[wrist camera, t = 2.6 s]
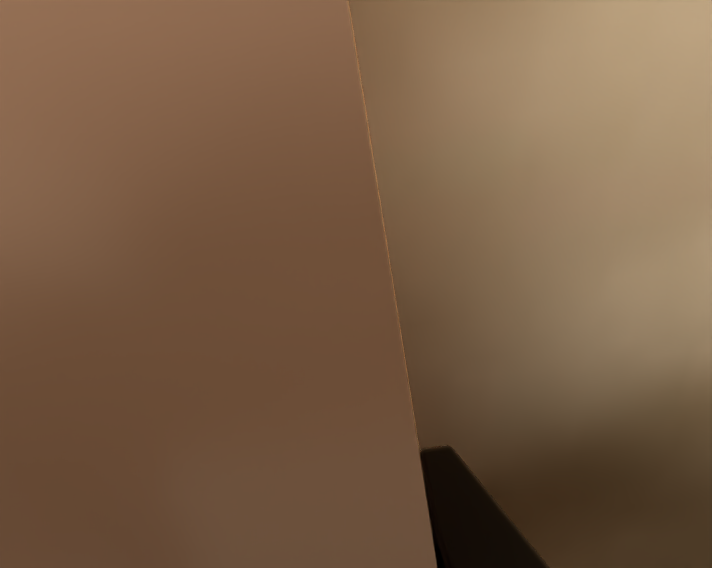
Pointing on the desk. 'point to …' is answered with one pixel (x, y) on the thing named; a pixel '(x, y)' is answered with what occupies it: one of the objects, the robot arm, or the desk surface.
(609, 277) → the desk surface
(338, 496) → the clay bar
